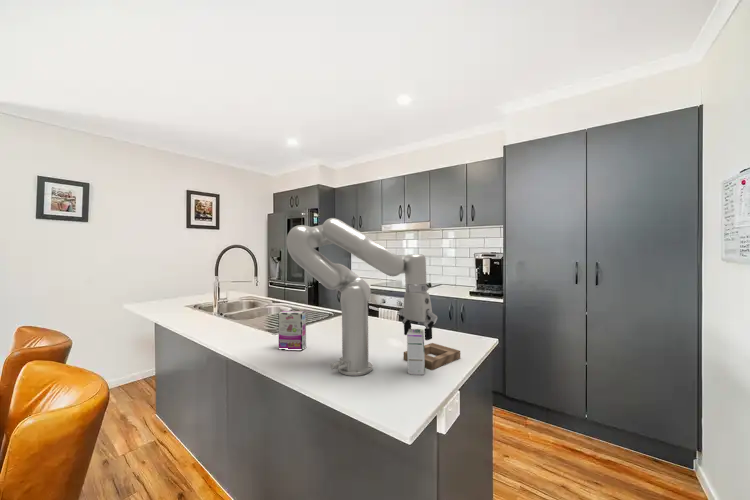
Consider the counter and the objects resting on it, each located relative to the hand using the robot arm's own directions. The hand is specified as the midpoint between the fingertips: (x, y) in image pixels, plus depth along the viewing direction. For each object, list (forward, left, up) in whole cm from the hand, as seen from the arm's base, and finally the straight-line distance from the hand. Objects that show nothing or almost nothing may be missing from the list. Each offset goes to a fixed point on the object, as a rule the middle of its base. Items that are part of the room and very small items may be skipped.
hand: (417, 336), depth 106 cm
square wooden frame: (+14, +5, -12) cm, 19 cm away
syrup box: (0, +1, -13) cm, 13 cm away
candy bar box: (-23, +53, -13) cm, 59 cm away
